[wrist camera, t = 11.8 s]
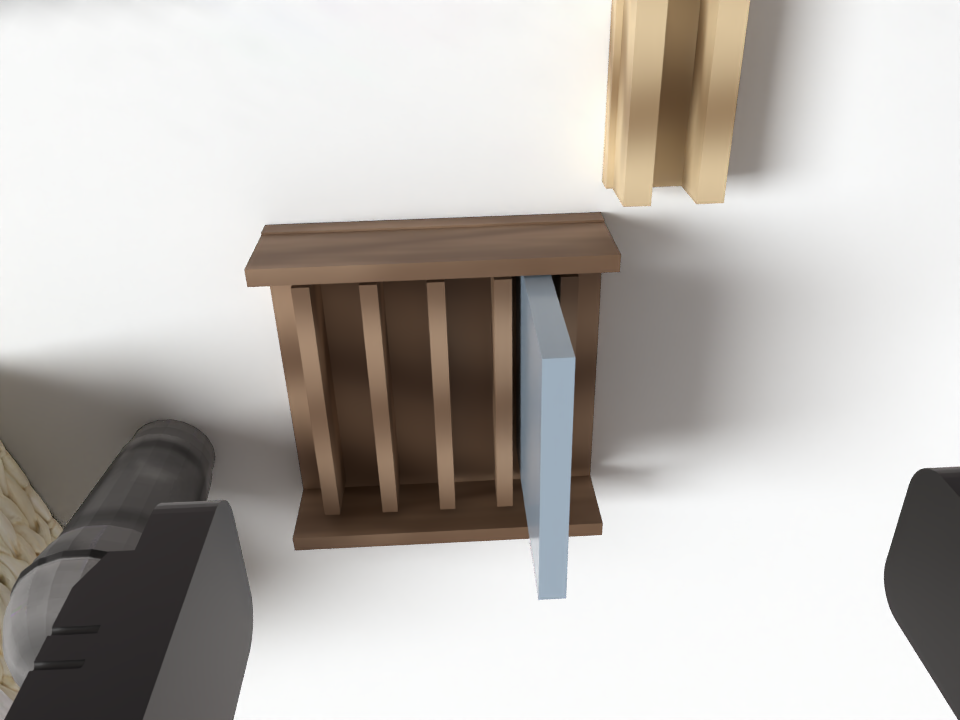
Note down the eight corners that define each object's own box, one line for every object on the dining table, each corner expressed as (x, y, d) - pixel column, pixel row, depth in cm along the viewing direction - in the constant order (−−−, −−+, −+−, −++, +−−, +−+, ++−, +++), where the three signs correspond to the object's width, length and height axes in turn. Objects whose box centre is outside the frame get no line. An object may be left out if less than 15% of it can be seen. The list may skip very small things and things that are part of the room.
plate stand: (613, -29, 34) (630, -21, 31) (732, -33, 34) (761, -24, 31) (602, 181, 39) (616, 207, 36) (707, 178, 39) (730, 202, 36)
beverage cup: (183, 375, 43) (15, 707, 26) (267, 472, 46) (167, 822, 29) (75, 434, 44) (-154, 785, 27) (163, 523, 48) (10, 885, 30)
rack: (265, 224, 39) (244, 267, 35) (600, 212, 40) (621, 252, 35) (307, 490, 47) (295, 551, 43) (586, 476, 48) (601, 536, 43)
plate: (515, 243, 39) (542, 358, 30) (541, 242, 39) (575, 357, 30) (516, 448, 45) (538, 599, 36) (538, 447, 45) (565, 598, 36)
